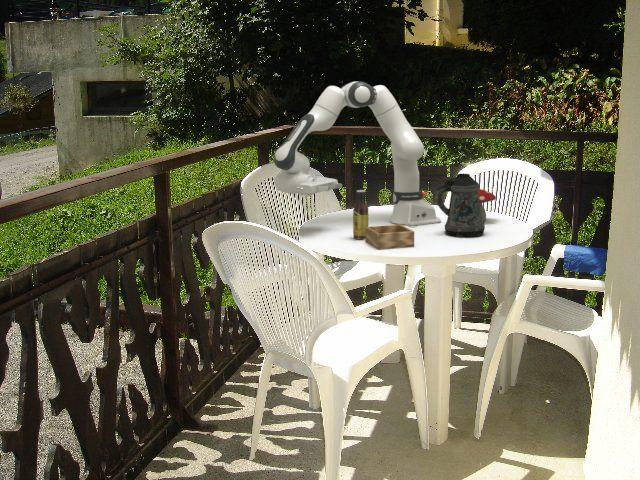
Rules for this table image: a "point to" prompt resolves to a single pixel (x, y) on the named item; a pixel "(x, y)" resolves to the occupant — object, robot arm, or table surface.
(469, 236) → the beer stein
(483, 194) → the decorative mushroom
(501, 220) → the table surface
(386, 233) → the crate
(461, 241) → the table surface
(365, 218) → the sauce bottle
